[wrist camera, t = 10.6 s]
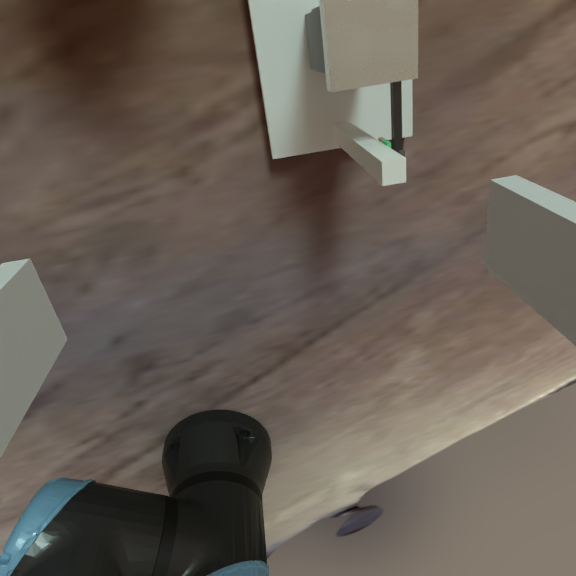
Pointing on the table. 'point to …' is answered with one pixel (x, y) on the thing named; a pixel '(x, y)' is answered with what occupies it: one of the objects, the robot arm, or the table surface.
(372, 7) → the square paddle
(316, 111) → the stand
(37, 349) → the robot arm
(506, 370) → the table surface
